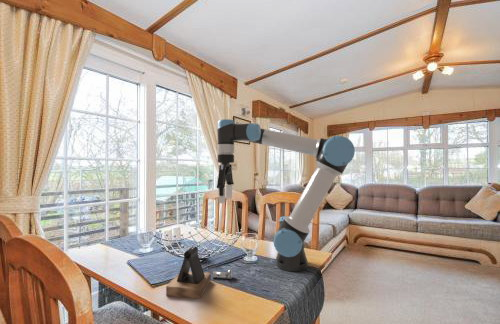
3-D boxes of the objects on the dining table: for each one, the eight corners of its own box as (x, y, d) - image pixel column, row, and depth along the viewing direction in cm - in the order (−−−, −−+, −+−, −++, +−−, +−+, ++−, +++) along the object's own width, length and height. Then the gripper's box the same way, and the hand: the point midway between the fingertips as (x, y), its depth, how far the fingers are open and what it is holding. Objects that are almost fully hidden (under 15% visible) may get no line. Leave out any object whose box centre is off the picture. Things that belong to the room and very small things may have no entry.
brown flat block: (210, 281, 104) (210, 272, 104) (200, 298, 91) (200, 288, 91) (180, 279, 106) (180, 270, 106) (166, 295, 93) (166, 286, 93)
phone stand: (176, 281, 96) (176, 250, 96) (184, 274, 102) (184, 245, 102) (198, 284, 94) (198, 252, 94) (204, 277, 100) (204, 247, 100)
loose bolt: (232, 276, 108) (232, 267, 108) (230, 280, 104) (230, 271, 104) (214, 275, 109) (214, 266, 109) (211, 279, 105) (211, 270, 105)
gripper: (224, 154, 127) (224, 196, 127) (209, 153, 102) (209, 205, 102) (239, 154, 126) (238, 196, 126) (227, 153, 101) (227, 205, 101)
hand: (225, 200), depth 114 cm, fingers open, 13 cm apart
